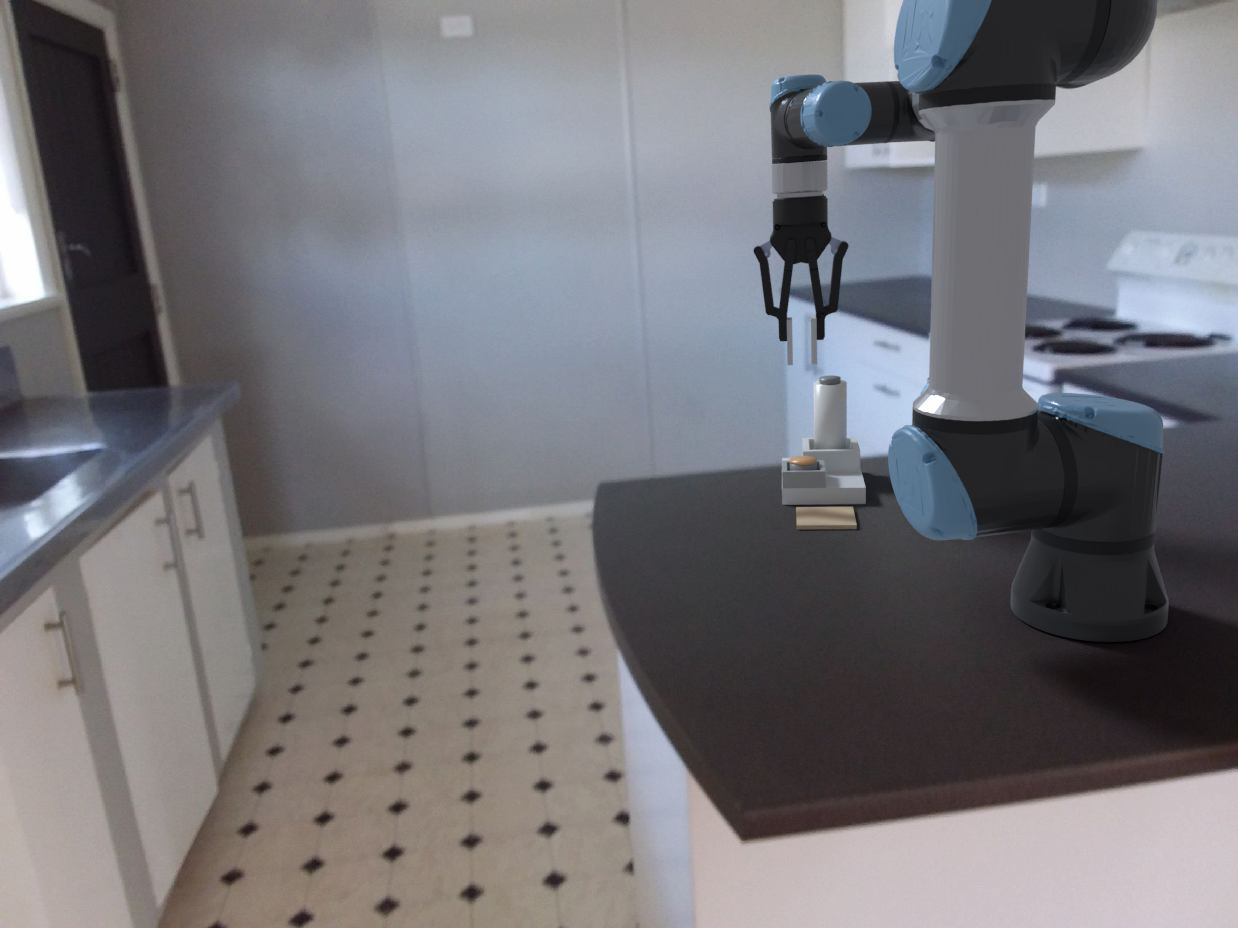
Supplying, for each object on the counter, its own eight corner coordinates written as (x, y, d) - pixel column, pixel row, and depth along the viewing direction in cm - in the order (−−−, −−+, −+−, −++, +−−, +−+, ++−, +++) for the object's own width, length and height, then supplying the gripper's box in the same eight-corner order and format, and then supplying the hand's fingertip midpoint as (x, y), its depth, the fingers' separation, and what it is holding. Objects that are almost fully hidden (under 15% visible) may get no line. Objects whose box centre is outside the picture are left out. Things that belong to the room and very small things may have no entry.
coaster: (856, 529, 136) (856, 525, 136) (796, 529, 137) (796, 525, 137) (852, 510, 144) (852, 506, 144) (796, 511, 145) (796, 507, 145)
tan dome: (817, 482, 148) (817, 462, 147) (790, 482, 148) (789, 463, 148) (816, 474, 151) (816, 455, 151) (789, 475, 152) (789, 456, 151)
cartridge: (847, 469, 155) (847, 380, 151) (814, 470, 156) (813, 381, 152) (845, 460, 160) (845, 373, 156) (813, 460, 160) (812, 374, 156)
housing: (865, 503, 146) (865, 464, 145) (782, 504, 148) (781, 465, 147) (857, 471, 162) (857, 435, 161) (782, 472, 164) (781, 437, 163)
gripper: (856, 191, 141) (856, 356, 148) (743, 198, 144) (747, 360, 150) (860, 192, 134) (859, 366, 140) (741, 199, 137) (746, 369, 143)
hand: (802, 362), depth 145 cm, fingers open, 3 cm apart
